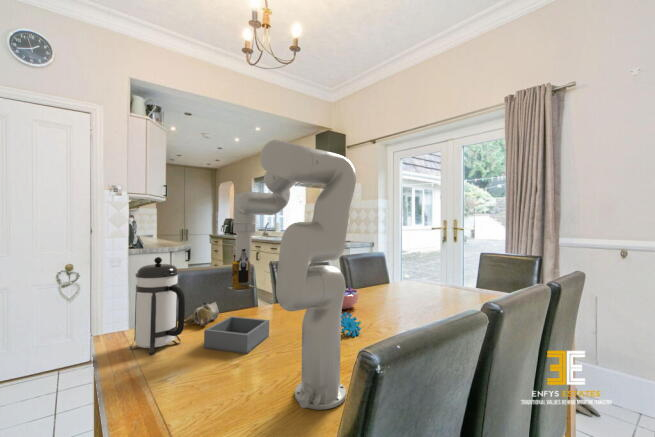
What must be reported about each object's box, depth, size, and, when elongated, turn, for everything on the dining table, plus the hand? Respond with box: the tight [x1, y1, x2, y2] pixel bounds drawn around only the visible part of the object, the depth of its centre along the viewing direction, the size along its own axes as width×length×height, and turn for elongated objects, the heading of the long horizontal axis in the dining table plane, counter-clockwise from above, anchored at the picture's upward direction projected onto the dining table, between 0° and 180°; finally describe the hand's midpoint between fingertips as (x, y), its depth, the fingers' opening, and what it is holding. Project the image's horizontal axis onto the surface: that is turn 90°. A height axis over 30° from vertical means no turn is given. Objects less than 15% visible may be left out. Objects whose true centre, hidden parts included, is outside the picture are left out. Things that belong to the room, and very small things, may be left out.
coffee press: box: [129, 256, 186, 356], centre depth 102 cm, size 17×16×30 cm
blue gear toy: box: [341, 312, 362, 338], centre depth 118 cm, size 11×6×10 cm
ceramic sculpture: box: [184, 301, 220, 327], centre depth 127 cm, size 11×9×15 cm
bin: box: [203, 315, 270, 355], centre depth 107 cm, size 16×16×6 cm
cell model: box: [342, 286, 360, 310], centre depth 153 cm, size 17×20×11 cm
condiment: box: [228, 254, 258, 292], centre depth 107 cm, size 7×8×12 cm
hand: (243, 279), depth 107 cm, fingers closed on condiment, 6 cm apart
